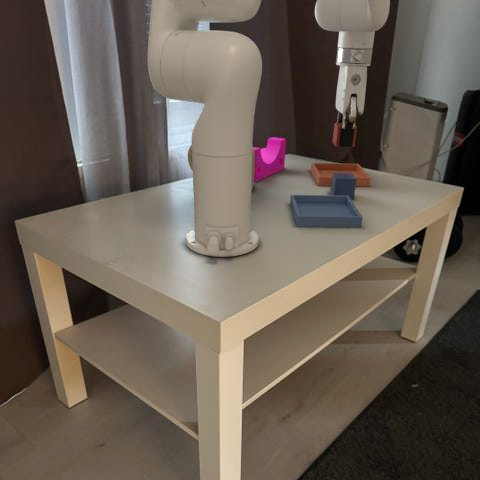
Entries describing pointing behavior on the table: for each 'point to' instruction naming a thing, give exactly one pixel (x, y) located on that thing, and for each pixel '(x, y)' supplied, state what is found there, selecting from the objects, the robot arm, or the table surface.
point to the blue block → (343, 184)
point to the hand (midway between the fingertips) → (343, 143)
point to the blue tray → (325, 211)
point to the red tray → (325, 170)
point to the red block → (337, 134)
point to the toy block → (269, 158)
